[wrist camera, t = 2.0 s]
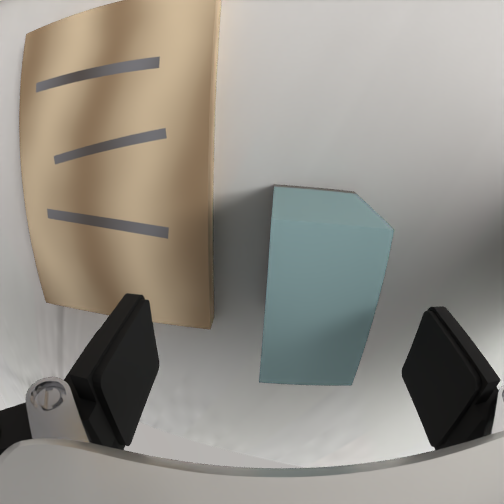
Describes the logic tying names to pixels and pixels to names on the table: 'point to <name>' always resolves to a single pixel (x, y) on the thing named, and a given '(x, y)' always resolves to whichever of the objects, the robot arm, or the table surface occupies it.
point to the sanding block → (321, 285)
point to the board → (123, 156)
